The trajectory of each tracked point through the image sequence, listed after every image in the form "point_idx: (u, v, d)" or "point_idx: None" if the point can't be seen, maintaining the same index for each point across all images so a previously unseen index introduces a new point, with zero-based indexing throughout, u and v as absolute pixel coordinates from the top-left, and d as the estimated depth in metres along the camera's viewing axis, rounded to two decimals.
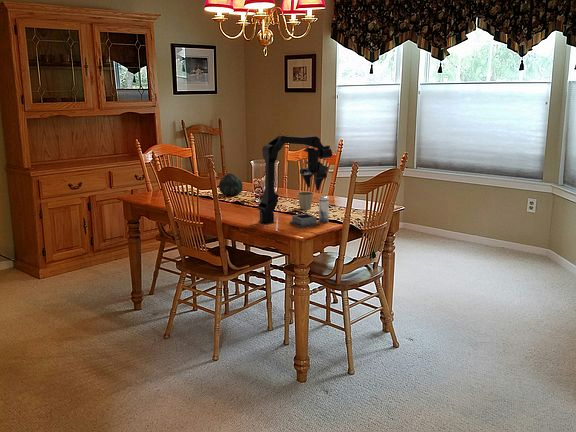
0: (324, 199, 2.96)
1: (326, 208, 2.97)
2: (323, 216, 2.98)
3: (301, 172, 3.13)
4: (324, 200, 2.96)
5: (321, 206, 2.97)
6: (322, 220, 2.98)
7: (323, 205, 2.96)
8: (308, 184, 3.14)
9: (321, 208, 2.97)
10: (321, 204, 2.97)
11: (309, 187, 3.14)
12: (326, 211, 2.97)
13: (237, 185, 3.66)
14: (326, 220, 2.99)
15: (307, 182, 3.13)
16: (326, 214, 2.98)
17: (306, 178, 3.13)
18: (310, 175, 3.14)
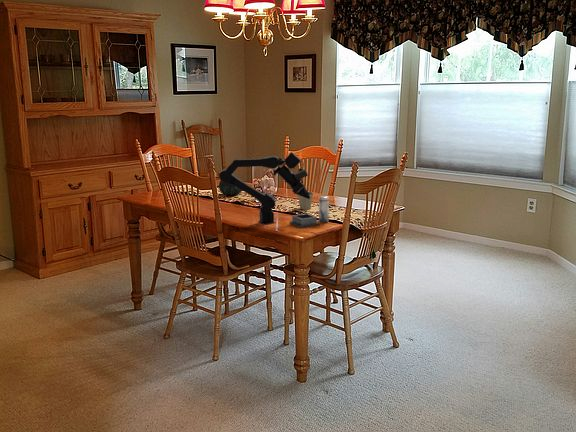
0: (324, 199, 2.96)
1: (326, 208, 2.97)
2: (323, 216, 2.98)
3: None
4: (324, 200, 2.96)
5: (321, 206, 2.97)
6: (322, 220, 2.98)
7: (323, 205, 2.96)
8: None
9: (321, 208, 2.97)
10: (321, 204, 2.97)
11: (308, 194, 3.02)
12: (326, 211, 2.97)
13: None
14: (326, 220, 2.99)
15: None
16: (326, 214, 2.98)
17: None
18: None
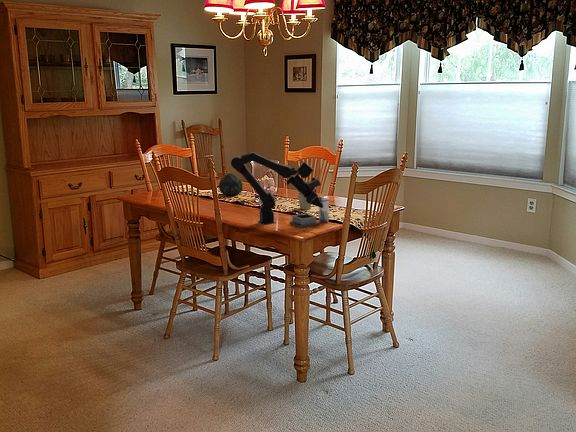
0: (324, 199, 2.96)
1: (326, 208, 2.97)
2: (323, 216, 2.98)
3: None
4: (324, 200, 2.96)
5: None
6: (322, 220, 2.98)
7: (323, 205, 2.96)
8: None
9: (321, 208, 2.97)
10: None
11: None
12: (326, 211, 2.97)
13: (237, 185, 3.66)
14: (326, 220, 2.99)
15: None
16: (326, 214, 2.98)
17: None
18: None
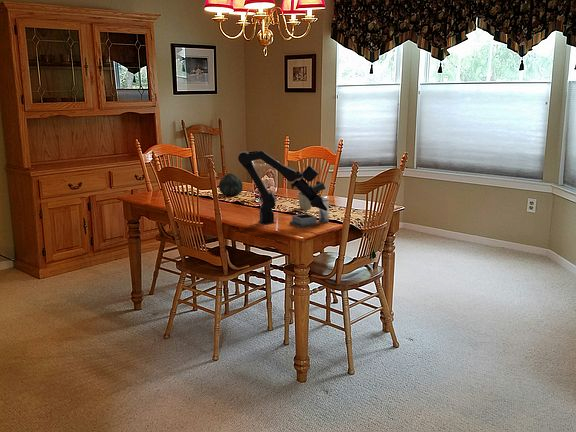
0: (324, 199, 2.96)
1: None
2: (323, 216, 2.98)
3: None
4: (324, 200, 2.96)
5: None
6: (322, 220, 2.98)
7: None
8: None
9: None
10: None
11: None
12: (326, 211, 2.97)
13: (237, 185, 3.66)
14: (326, 220, 2.99)
15: None
16: (326, 214, 2.98)
17: None
18: None
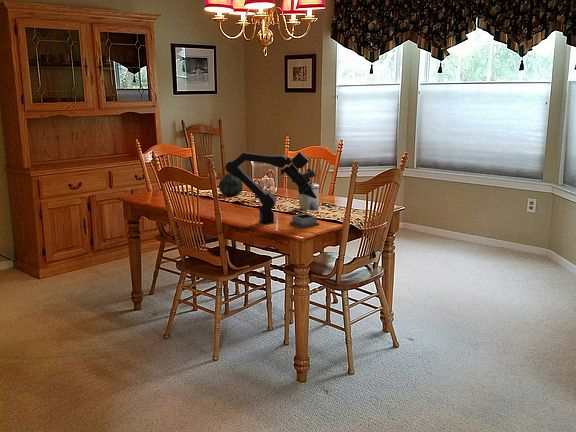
0: (314, 187, 2.91)
1: None
2: (312, 204, 2.94)
3: None
4: (314, 188, 2.91)
5: None
6: (311, 208, 2.94)
7: None
8: None
9: None
10: None
11: None
12: (315, 199, 2.93)
13: (237, 185, 3.66)
14: (315, 208, 2.94)
15: None
16: (315, 202, 2.93)
17: None
18: None
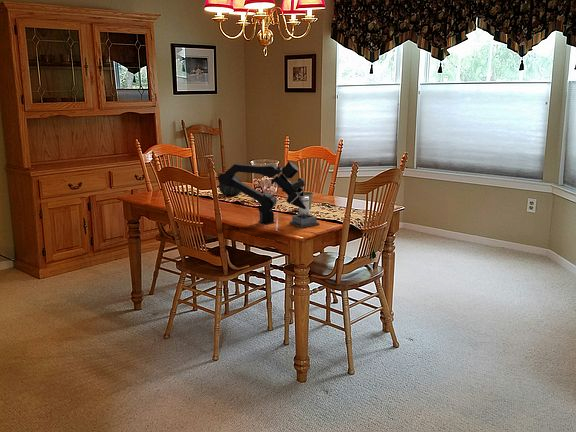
0: (303, 200, 2.91)
1: None
2: (302, 217, 2.93)
3: None
4: (303, 200, 2.91)
5: None
6: None
7: None
8: None
9: (300, 208, 2.93)
10: None
11: None
12: (305, 211, 2.93)
13: None
14: None
15: None
16: (305, 214, 2.93)
17: None
18: (301, 193, 2.98)
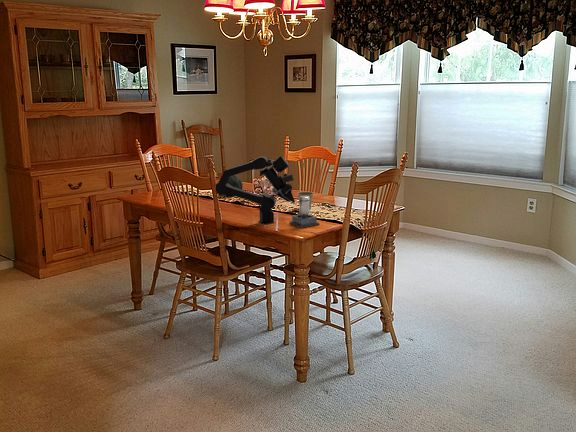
0: (304, 199, 2.91)
1: (305, 208, 2.92)
2: (303, 217, 2.93)
3: (273, 192, 3.03)
4: (303, 200, 2.91)
5: (301, 206, 2.93)
6: None
7: (302, 205, 2.92)
8: (286, 199, 3.02)
9: (301, 208, 2.93)
10: (301, 204, 2.92)
11: None
12: (305, 211, 2.93)
13: (237, 185, 3.66)
14: None
15: (284, 198, 3.02)
16: (305, 214, 2.93)
17: (281, 195, 3.02)
18: None
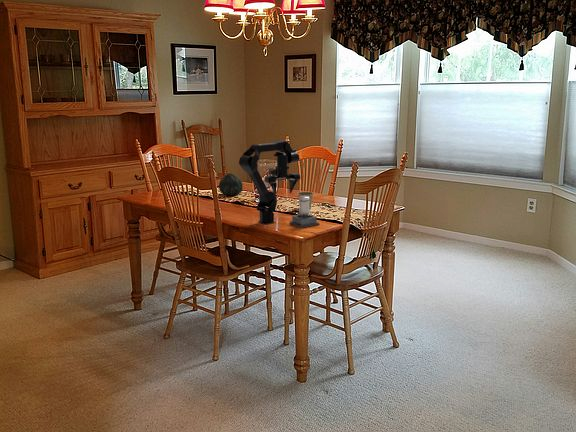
0: (303, 200, 2.91)
1: (305, 208, 2.92)
2: (302, 217, 2.93)
3: (273, 180, 2.99)
4: (303, 200, 2.91)
5: (300, 206, 2.93)
6: None
7: (302, 205, 2.92)
8: None
9: (300, 208, 2.93)
10: (301, 204, 2.92)
11: (275, 194, 3.05)
12: (305, 211, 2.93)
13: (237, 185, 3.66)
14: None
15: None
16: (305, 214, 2.93)
17: None
18: None
